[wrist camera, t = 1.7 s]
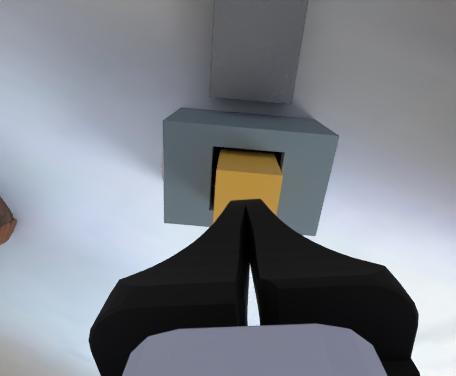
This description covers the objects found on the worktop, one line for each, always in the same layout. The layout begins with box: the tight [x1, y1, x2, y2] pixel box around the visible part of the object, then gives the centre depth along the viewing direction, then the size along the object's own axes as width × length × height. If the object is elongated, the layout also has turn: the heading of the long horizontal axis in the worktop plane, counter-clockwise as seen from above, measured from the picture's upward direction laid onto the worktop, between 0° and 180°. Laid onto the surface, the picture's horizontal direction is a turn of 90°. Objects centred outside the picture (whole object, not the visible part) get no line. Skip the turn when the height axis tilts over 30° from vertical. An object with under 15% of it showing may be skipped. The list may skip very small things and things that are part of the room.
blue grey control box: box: [162, 108, 339, 236], centre depth 18 cm, size 9×6×5 cm, turn 86°
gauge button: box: [213, 149, 283, 223], centre depth 15 cm, size 3×3×4 cm
